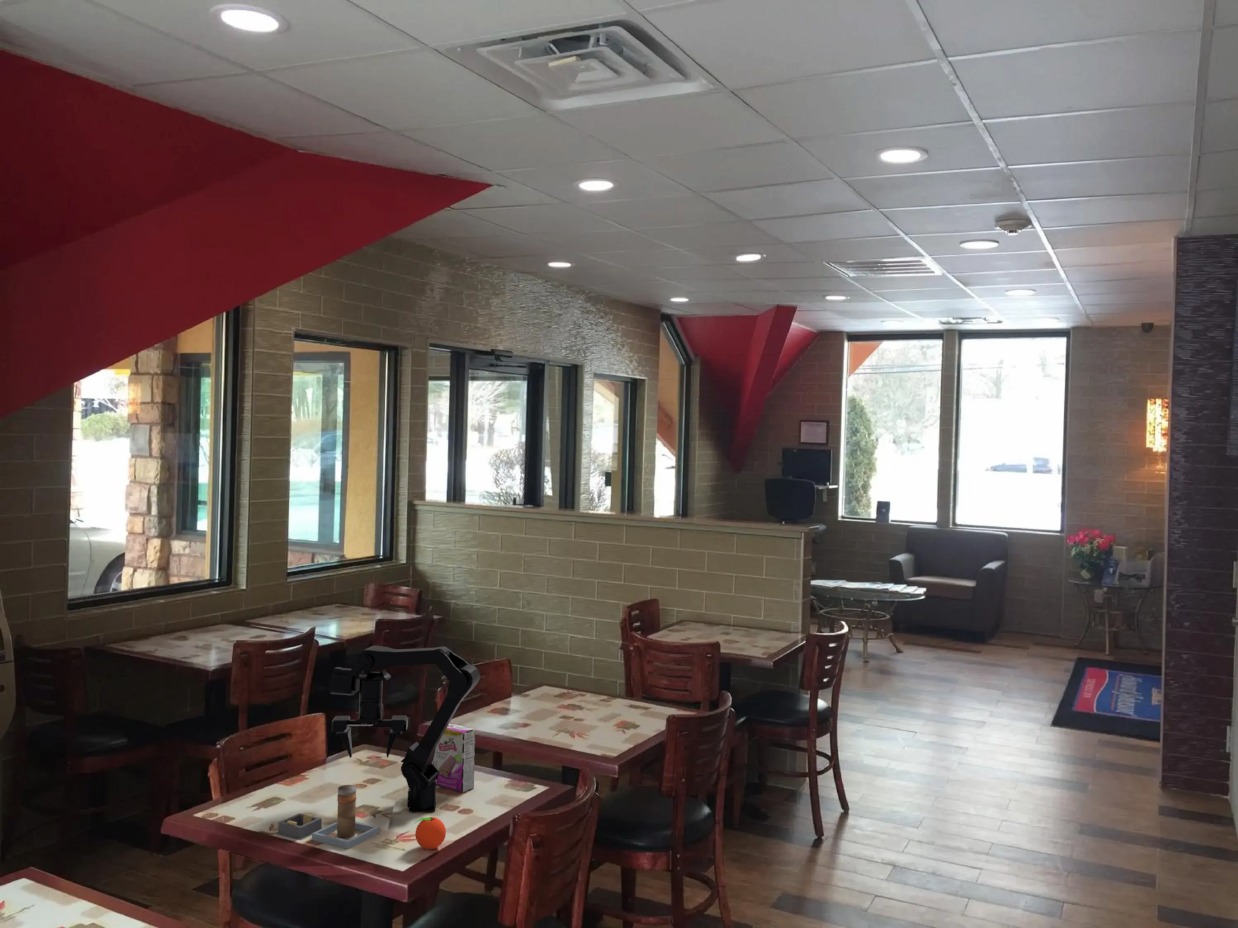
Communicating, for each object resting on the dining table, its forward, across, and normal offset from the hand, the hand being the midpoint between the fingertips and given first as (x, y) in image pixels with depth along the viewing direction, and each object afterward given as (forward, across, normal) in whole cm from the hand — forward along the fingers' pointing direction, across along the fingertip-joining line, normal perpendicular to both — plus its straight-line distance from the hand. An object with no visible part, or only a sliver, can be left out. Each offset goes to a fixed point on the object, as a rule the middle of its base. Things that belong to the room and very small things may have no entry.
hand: (369, 756), depth 259 cm
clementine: (+12, -17, +30) cm, 37 cm away
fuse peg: (+11, +2, +26) cm, 28 cm away
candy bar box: (+12, -21, -12) cm, 27 cm away
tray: (+12, +2, +26) cm, 29 cm away
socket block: (+12, +13, +22) cm, 28 cm away
